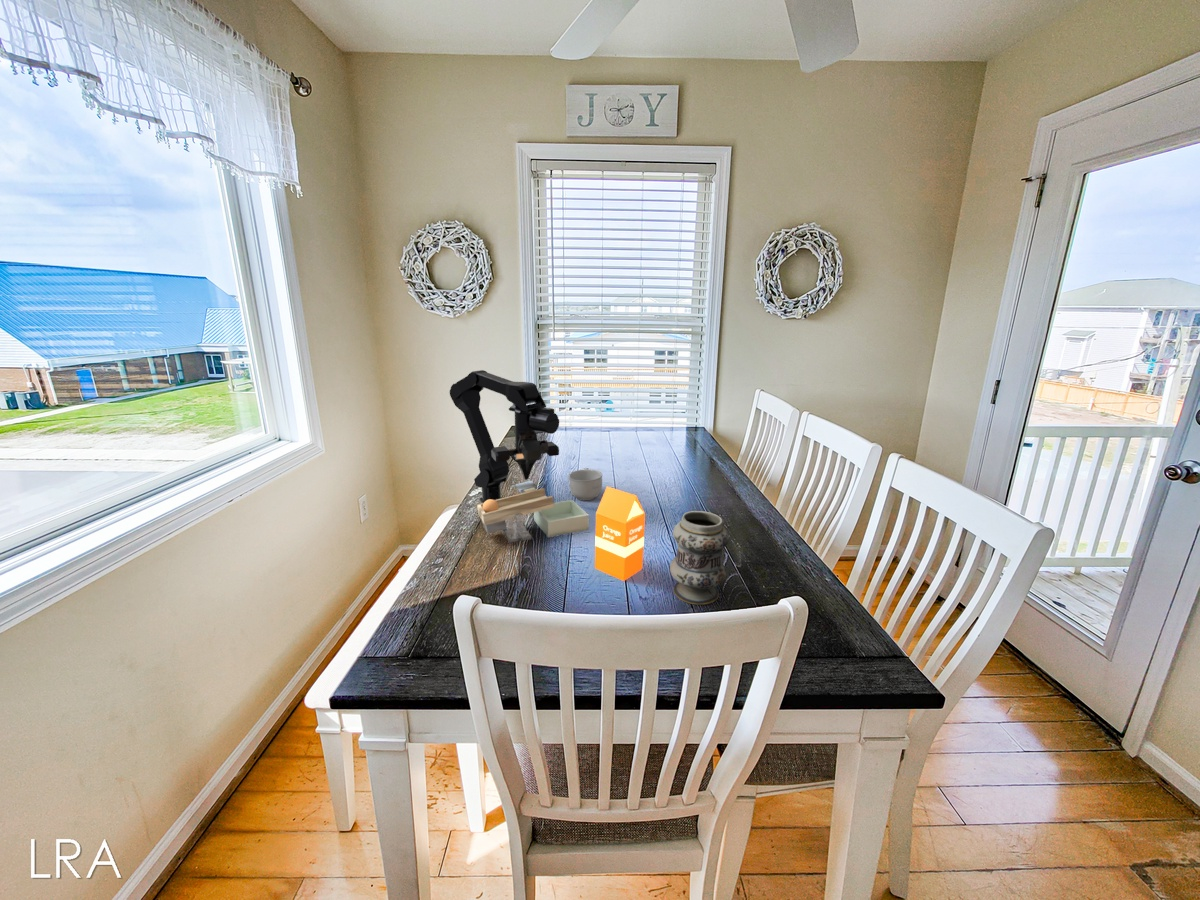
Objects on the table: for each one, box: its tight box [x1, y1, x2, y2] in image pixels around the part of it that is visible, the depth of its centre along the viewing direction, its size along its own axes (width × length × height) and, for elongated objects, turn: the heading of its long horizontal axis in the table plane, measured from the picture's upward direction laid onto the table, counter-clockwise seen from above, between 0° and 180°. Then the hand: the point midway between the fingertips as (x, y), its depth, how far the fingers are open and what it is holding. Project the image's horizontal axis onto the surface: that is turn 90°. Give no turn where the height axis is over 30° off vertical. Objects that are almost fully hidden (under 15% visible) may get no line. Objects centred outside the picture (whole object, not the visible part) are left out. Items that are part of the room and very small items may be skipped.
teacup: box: [568, 467, 603, 501], centre depth 163 cm, size 14×11×8 cm
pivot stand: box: [501, 513, 532, 544], centre depth 135 cm, size 10×6×8 cm, turn 26°
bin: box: [533, 499, 590, 538], centre depth 141 cm, size 12×12×4 cm
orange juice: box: [594, 486, 646, 582], centre depth 116 cm, size 8×9×20 cm
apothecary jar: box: [669, 510, 730, 606], centre depth 108 cm, size 12×12×18 cm
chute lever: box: [476, 480, 554, 535], centre depth 139 cm, size 17×19×6 cm
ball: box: [483, 499, 498, 513], centre depth 131 cm, size 4×4×4 cm
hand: (526, 479), depth 145 cm, fingers closed
